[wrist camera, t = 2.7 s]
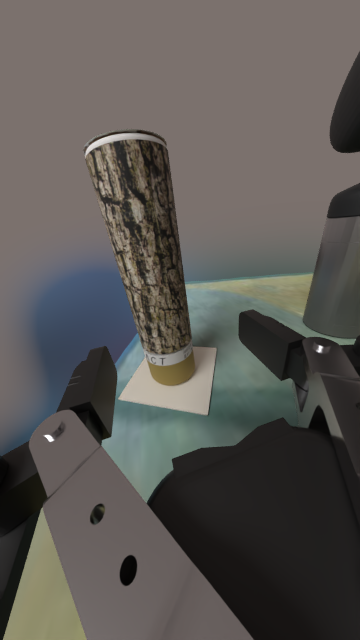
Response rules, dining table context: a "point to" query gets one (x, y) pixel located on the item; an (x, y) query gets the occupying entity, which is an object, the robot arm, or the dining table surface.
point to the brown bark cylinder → (145, 244)
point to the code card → (175, 386)
